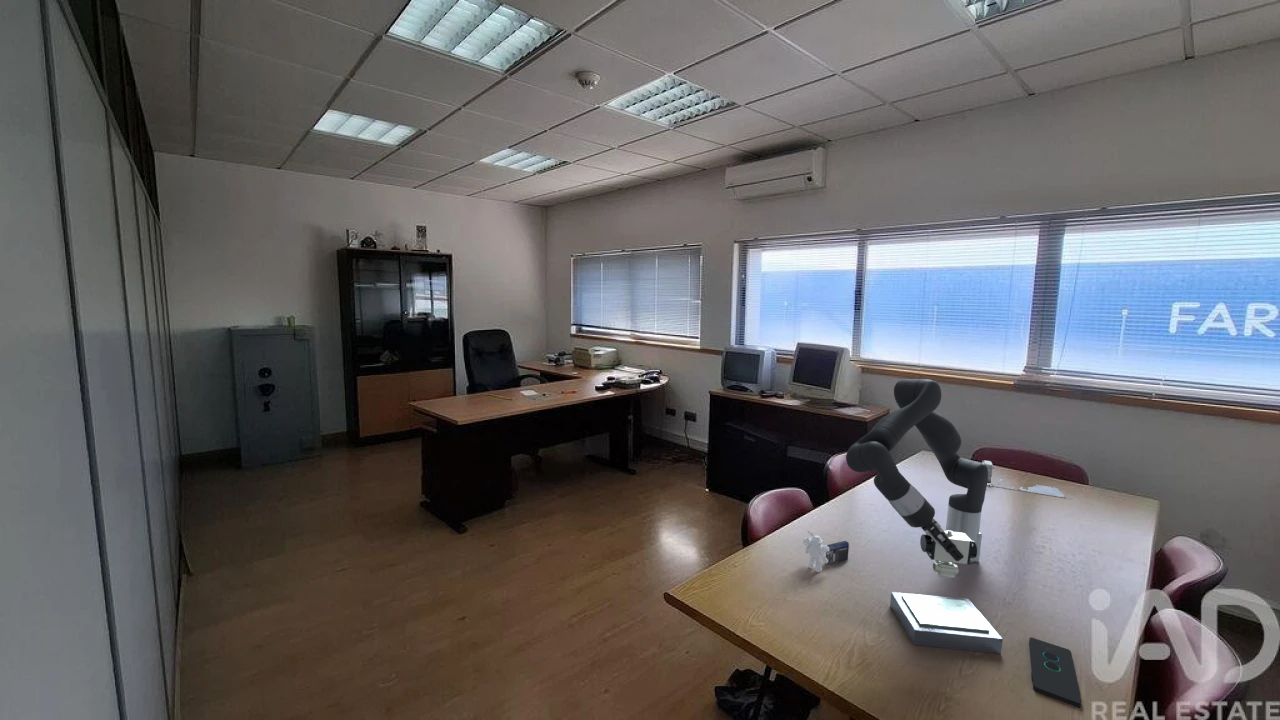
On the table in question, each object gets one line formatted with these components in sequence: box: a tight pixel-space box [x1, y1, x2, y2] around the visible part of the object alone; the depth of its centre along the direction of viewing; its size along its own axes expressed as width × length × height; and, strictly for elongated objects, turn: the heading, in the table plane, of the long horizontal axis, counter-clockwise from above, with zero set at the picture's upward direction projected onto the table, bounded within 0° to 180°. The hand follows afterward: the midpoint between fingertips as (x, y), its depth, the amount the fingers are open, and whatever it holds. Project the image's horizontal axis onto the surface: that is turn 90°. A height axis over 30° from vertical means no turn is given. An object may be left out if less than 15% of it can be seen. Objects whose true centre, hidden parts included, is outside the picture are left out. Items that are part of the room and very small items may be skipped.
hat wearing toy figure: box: [803, 530, 830, 573], centre depth 156 cm, size 9×4×12 cm, turn 35°
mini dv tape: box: [825, 540, 850, 565], centre depth 161 cm, size 8×2×6 cm, turn 114°
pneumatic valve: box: [919, 529, 977, 579], centre depth 128 cm, size 6×12×12 cm, turn 78°
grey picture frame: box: [889, 591, 1003, 655], centre depth 129 cm, size 20×16×5 cm
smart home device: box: [1028, 637, 1082, 709], centre depth 115 cm, size 8×2×20 cm
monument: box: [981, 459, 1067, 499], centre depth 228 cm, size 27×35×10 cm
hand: (954, 552), depth 127 cm, fingers closed on pneumatic valve, 5 cm apart
